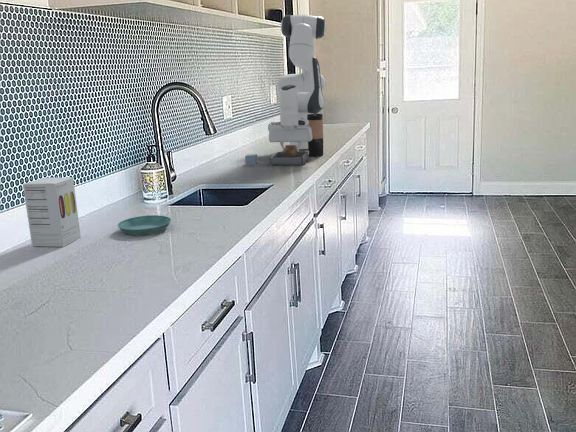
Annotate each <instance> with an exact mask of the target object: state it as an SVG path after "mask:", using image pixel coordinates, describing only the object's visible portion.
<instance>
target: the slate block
mask: <svg viewBox="0 0 576 432" xmlns="http://www.w3.org/2000/svg"><path fill="white" fill-rule="evenodd" d="M244 159H245V166H246V165H247V166H257V164H258V154H256V153H253V154H251V153H249V154H246V155H245V157H244Z"/></svg>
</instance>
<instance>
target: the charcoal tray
mask: <svg viewBox="0 0 576 432" xmlns="http://www.w3.org/2000/svg"><path fill="white" fill-rule="evenodd" d="M308 160H309V152H308V150H307V151H303V150H302V151H299V152H297V154H296V155H295V156H286V152H283V151H276V152H275V153H274V154H273V155H271V156H270V157H269V166H270V167H278V166H279V167H281V166H283V167H284V166H285V167H286V166H289V165H298V166H304V165H305V164H306V162H307V161H308ZM289 167H290V166H289Z"/></svg>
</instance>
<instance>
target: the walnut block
mask: <svg viewBox="0 0 576 432" xmlns="http://www.w3.org/2000/svg"><path fill="white" fill-rule="evenodd" d="M284 147H285V151H286V156H295V155H296V154H297V152H296V149H295V148H296V145H289V144H286V145H285V146H284Z"/></svg>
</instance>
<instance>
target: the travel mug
mask: <svg viewBox="0 0 576 432" xmlns="http://www.w3.org/2000/svg"><path fill="white" fill-rule="evenodd" d="M323 117H324V116H323V113H317V114H308V115H307V120H309V124H308V125H309V126H310V127H311V130H312V140H311V141H308V149H307V151H308V157H312V158H316V157H323V156H324V121H323V120H324V119H323Z"/></svg>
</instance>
